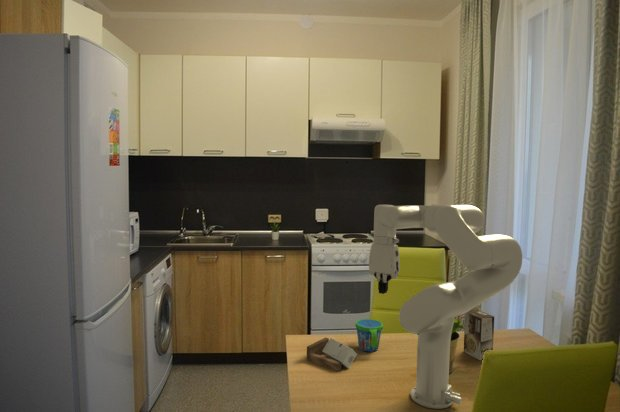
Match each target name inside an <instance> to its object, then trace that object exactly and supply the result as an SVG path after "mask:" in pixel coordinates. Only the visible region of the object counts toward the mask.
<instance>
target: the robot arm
mask: <svg viewBox="0 0 620 412" xmlns="http://www.w3.org/2000/svg"><path fill="white" fill-rule="evenodd" d="M373 212H374V217H373V243H371V246H370V251H369V257H368V268H369V274H370V275H372V276H374V277H375V279H376V282H377V286H378V287H377V290H378V294H382V295H385V294H387V293H388V291H389V282H390V281H392V279H397V278H399V273H400V271H401V260H400V250H399V246H398V244H399V243H400V239H399V238H397V236H396V235H397V230H402V229H419V228H420V229H422V228H423V229H427V230H428V231H429V232H430V233H433V234H437V235H438V236H439V237H440V239H441V240H442V242H443V243H444V244H445V245H446V246H447V248H448V249H449V250H450V251H451V253H452V254H453V255H454V256H455V258H456V259H457V260H458V261H459V262H460V263H461V264H462V265H463V266H464V267H466V268H467V269H470V271H468V272H467V273H465V274H464V275H463V276H461V277H459V278H457V279H455V280H452V281H448V282H446V281H445V282H441V283H435V284H433V285H430V286H427V287H425V288H423V289H422V290H421V291H419V292H418V293H416V294H414V296H412V297H411V298H409V299H408V300H407V301H405V302H404V303H403V304H402V306H401V307H400V310H399V313H398V319H399V324H400V325H401V327H402V328H403V329H404V331H406V332H408V333H410V334H412V335H418V338H417V347H416V348H417V349H416V351H417V352H416V371H415V373H416V374H415V375H416V376H415V377H416V378H415V386H414V387H412V389H410V393H409V395H410V398H411V399H412V400H413V401H414V402H415V403H416V404H417V405H420V406H421V407H425V408H429V409H435V410H440V409H447V408H449V407H451V406H452V405H453V404H454V403H455V404H458V405H462V401H463V398H462V397H461V393H460V392H459V393H458V392H455V391H453V389H452V385H451V384H449V382H450V381H449V379H450V377H449V376H450V373H449V372H450V356H451V353H450V352H451V340H452V332H453V328H454V324H455V320H456V317H458V316H459V317H460V316H463V315H465V313H467V312H469V311H472V310H474V309H475V308H476V307H479V305H481V304H483V303H485V302H486V301H489V300H490V299H491V298H492V297H494V296H496V295H497V294H499V293H501V292H502V291H504V290H505V289H506V288H508V287H509V286H510V285H511V284H513V282H514V281H515V279H516V278H517V277H518V275H519V273H520V271H521V268H522V265H523V251H522V248H521V246H520V244H519V242H518V241H517V240H516V239H514V238H513V237H512V236H509V235H505V234H487V235H477V234H476V233H478V232H480V231H481V229H483V227H484V225H485V215H484V213H483V211H482V210H481V209H479V208H478V207H476V206H474V205H471V204H431V205H419V204H418V205H393V204H377V205H376V206H375V207H374V211H373ZM397 243H398V244H397Z"/></svg>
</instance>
